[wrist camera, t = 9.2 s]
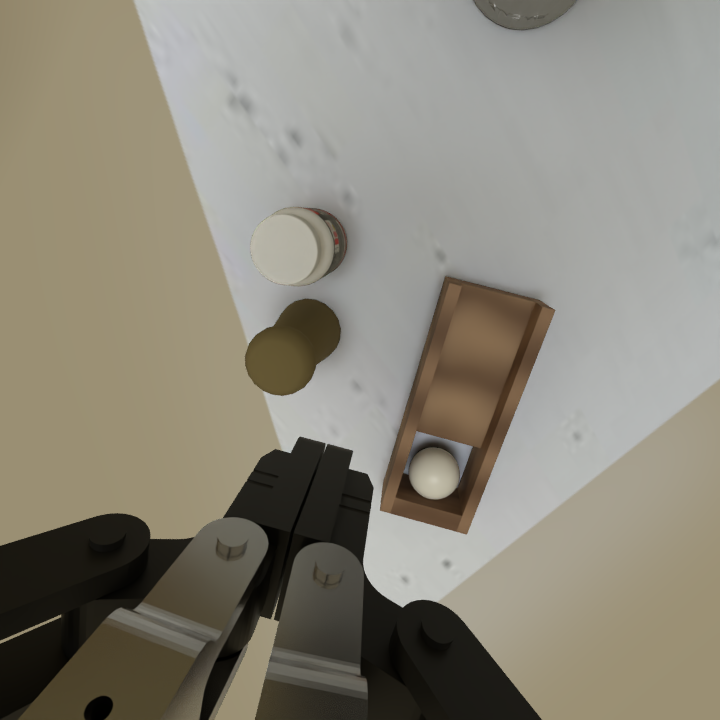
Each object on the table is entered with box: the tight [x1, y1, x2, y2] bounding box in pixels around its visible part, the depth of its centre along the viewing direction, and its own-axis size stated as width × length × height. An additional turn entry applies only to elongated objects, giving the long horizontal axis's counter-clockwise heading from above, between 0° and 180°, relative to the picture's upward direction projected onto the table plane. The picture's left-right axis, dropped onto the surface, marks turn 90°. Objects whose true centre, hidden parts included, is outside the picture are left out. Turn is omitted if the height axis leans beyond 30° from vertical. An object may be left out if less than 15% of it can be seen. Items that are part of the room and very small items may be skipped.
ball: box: [409, 447, 460, 499], centre depth 41 cm, size 5×5×5 cm
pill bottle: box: [250, 207, 347, 286], centre depth 34 cm, size 6×6×10 cm
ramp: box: [380, 276, 555, 534], centre depth 39 cm, size 22×8×4 cm, turn 166°
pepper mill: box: [245, 299, 341, 396], centre depth 36 cm, size 6×6×11 cm
